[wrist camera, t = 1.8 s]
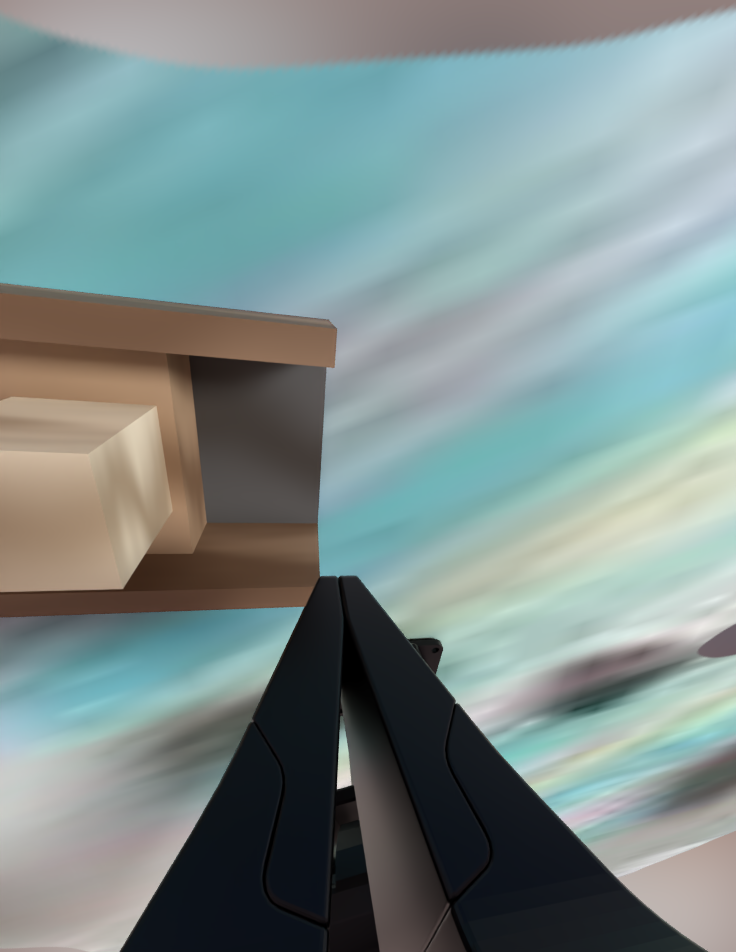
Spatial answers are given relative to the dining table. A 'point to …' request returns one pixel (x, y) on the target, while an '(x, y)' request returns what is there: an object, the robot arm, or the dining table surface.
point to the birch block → (78, 492)
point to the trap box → (190, 438)
